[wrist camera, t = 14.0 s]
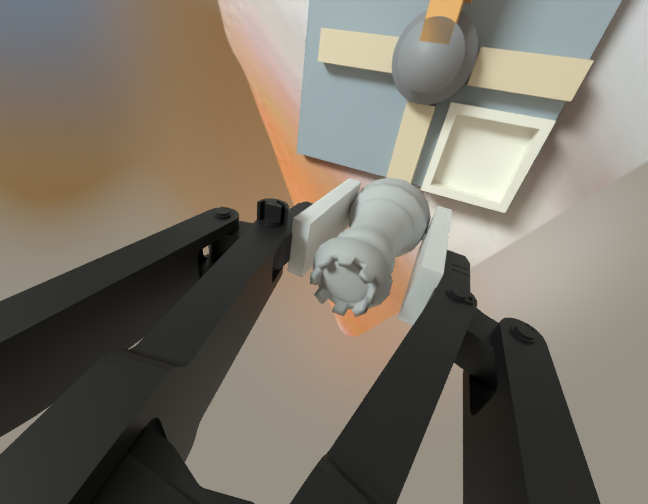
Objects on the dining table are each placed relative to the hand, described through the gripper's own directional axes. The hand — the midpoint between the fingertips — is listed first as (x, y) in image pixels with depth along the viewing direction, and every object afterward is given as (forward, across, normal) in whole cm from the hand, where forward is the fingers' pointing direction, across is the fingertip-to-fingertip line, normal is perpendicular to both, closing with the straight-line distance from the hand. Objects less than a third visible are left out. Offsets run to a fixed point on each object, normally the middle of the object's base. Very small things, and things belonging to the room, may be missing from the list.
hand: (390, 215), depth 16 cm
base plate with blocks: (+15, -3, +8) cm, 17 cm away
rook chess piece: (+1, 0, 0) cm, 1 cm away
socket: (+13, +4, +2) cm, 14 cm away
